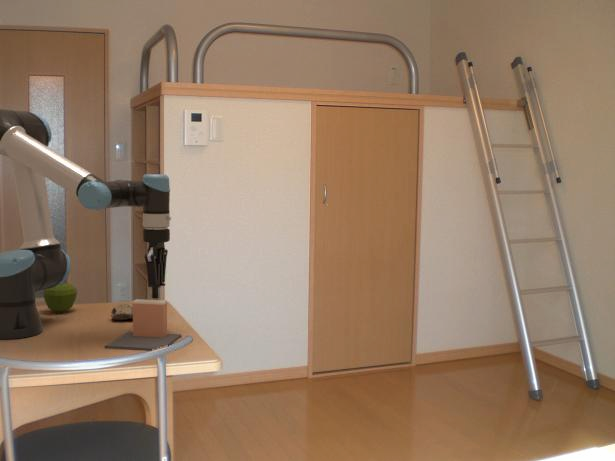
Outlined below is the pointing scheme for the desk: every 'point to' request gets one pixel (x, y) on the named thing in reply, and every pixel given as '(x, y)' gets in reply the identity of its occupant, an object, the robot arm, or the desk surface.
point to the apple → (60, 297)
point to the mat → (141, 342)
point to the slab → (150, 318)
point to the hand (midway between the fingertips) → (156, 308)
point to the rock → (122, 312)
